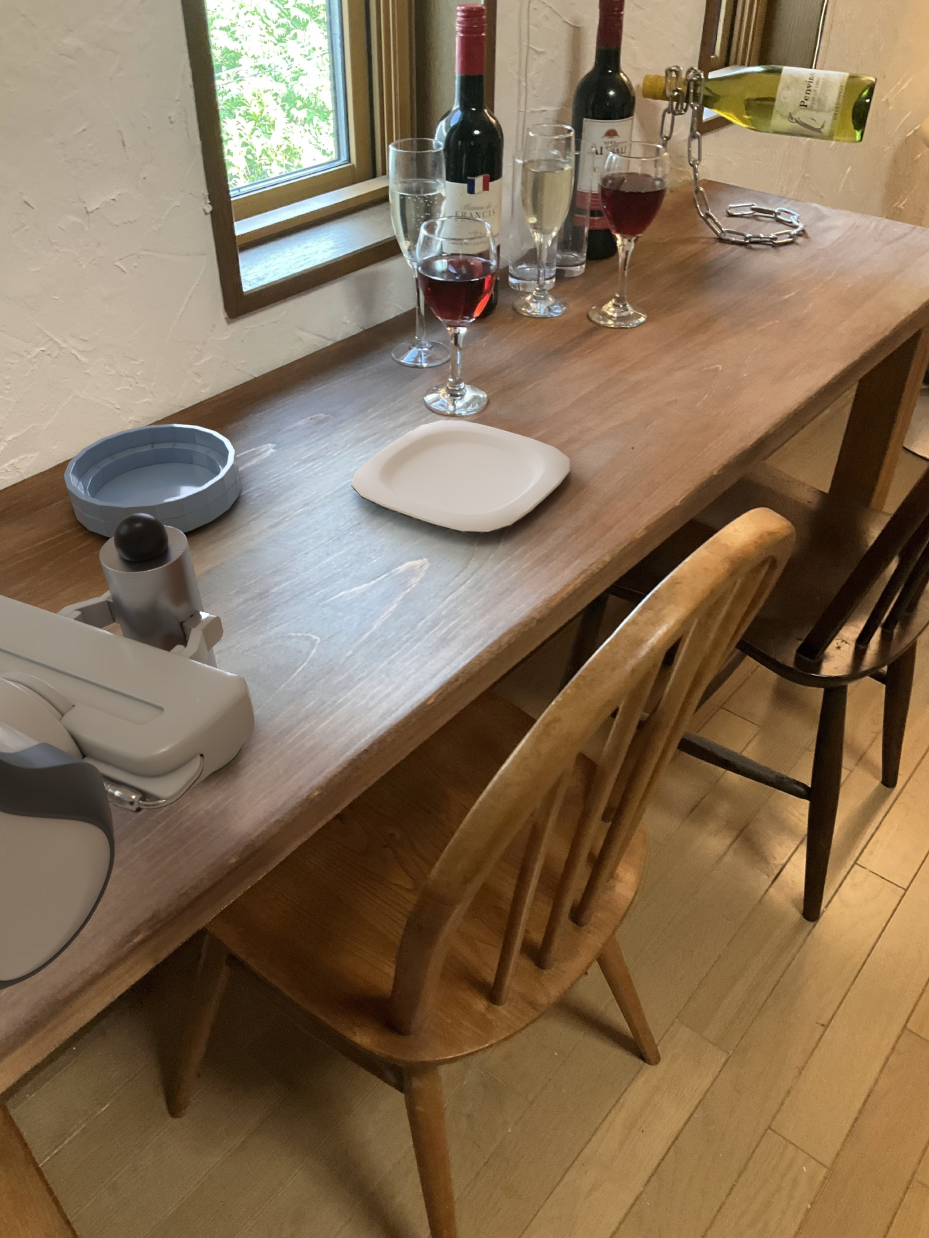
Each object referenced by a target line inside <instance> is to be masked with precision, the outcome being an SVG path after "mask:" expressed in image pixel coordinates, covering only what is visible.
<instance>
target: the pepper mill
mask: <svg viewBox="0 0 929 1238" xmlns="http://www.w3.org/2000/svg"><path fill="white" fill-rule="evenodd" d="M98 557H99V561H100V565H101V568H102V571H103V575H104V578H105V581H106V584H107V588H108V590H109V591H110V595H111V598H112V601H113V604H114V608H115V611H116V614H117V617H118V621H119V624H118V625H119V626H120V631H121V633H122V634H121V635H122V636H124V637H127V638H130V639H133V640H136V641H138V642H141V643H144V644H147V645H150V646H153V647H156V648H159V649H162V650H165V651H168V652H170V651H171V650H172V649H173V648H174V647H176V646H177V645H182V646H184V647H185V648H186V647H187V642H186V634H185V633H184V631H183V627H182V623H183V622H185V621H186V620H187V619H188V618H190V617H192V616H193V614H194V613H195V612H196V611H203V612H205V610H204V606H203V601H202V596H201V593H200V589H199V584H198V580H197V575H196V572H195V567H194V563H193V559H192V554H191V551H190V546H189V542H188V538H187V536H186V535H185V534H184V533H182V532H181V531H180V530H178V529H176V528H173V527H170V526H165V525H163V524H162V523H161V522H160V521H159V520H158V519H157V518H156V517H154V516H152V515H149V514H145V513H136V514H132V515H129V516H127V517H125V518H124V519H123V520H121V521H120V523H119V524H118V525H117V527H116V529H115V532H114V536H113V537H112V538H111V537H109V539H108V540H107V541H105V542H104V544H103V545H102V546H101V548H100V550H99V554H98ZM213 647H214V646H213ZM213 647H212V648H211V649H210V650H209V651H208V658H207V665H210V666H213V667H216V668H218V665H217V661H216V656H215V652H214V648H213Z"/></svg>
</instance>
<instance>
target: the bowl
mask: <svg viewBox="0 0 929 1238" xmlns="http://www.w3.org/2000/svg"><path fill="white" fill-rule="evenodd" d="M63 478H64V482H65V486H66V490H67V492H68V496H69V500H70V502H71V505H72V508H73V512H74V515H75V518H76V519H77V522H79V523H80V524H82V525H83V526H84V527H85V528H86V529H87V530H88V531H90V532H93V533H95V534H99V535H101V536H103V537H107V538H112V537H113V536H114V532H115V529H116V527H117V525H118V524H119V523H120V521H121V520H123V519H124V518H125V517H127V516H129V515H132V514H136V513H145V514H149V515H152V516H154V517H156V518H157V519H158V520H159V521H160V522H161V523H162V524H163V525H165V526H170V527H173V528H176V529H178V530H180V531H181V532H182V533H183V534H184V533H187V532H190V531H193V530H195V529H198V528H200V527H202V526H204V525H207V524H208V523H211V522H213V521H214V520H216V519H217V518H219V517H220V516H221V515H223V514H224V513H226V511H228V510H229V509H230V508H231V507H232V505H233V504H234V502H235V501H236V500H237V499H238V497H239V495H240V491H241V483H242V480H241V475H240V469H239V464H238V459H237V453H236V450H235V448H234V446H233V444H232V443H231V441H230V440H229V438H227V437H225V436H224V435H222V434H221V433H219V432H218V431H216V430H213V429H209V428H205V427H203V426H199V425H194V424H193V425H191V424H179V423H165V424H150V425H144V426H139V427H136V428H135V427H134V428H130V429H125V430H121V431H119V432H116V433H113V434H111V435H108V436H107V435H106V436H104V437H102V438H100V439H98V440H96V441H94V442H92V443H91V444H89V445H87V446H86V447H84V448H82V449H81V450H80V451H79V452H78V453H77V454H76V455H75V456H74V457H73V458H72V459H70V460H69V462H68V464H67V467H66V469H65V472H64V474H63Z"/></svg>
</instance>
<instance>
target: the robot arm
mask: <svg viewBox="0 0 929 1238" xmlns="http://www.w3.org/2000/svg"><path fill="white" fill-rule="evenodd" d="M114 623H115V624H118V625H120V624H119V621H118V617H117V614H116V611H115V608H114V604H113V601H112V598H111V595H110V591H109V589H108V590H107V591H105V592H104V593H103V594H102V595H100V596H96V597H93V598H89V599H86V600H83V601H79V602H76V603H73V604H69V605H66V606H64V607H63V608H61V609H60V610H59V611H57V612H52V611H49V610H46V609H44V608H40V607H37V606H34V605H32V604H28V603H25V602H24V601H19V600H17V599H14V598H10V597H8V596H5V595H2V594H0V991H2V990H5V989H8V988H11V987H13V986H15V985H17V984H20V983H22V982H24V981H26V980H28V979H30V978H32V977H33V976H35V975H38V973H40V972H41V971H43V970H44V969H46V968H47V967H49V965H51V964H52V963H53V962H54V961H55V960H57V958H59V957H60V956H61V955H62V954H63V953H64V952H65V951H66V950H67V949H68V948H69V946H70V945H71V944H72V943H74V941H75V939H76V938H77V937H78V936H79V935H80V934H81V932H82V931H83V930H84V928H85V927H86V926H87V924H88V923H89V922H90V919H92V916H93V915H94V913H95V911H96V910H97V908H98V906H99V904H100V902H102V899H103V897H104V894H105V893H106V890H107V888H108V884H109V882H110V879H111V875H112V873H113V868H114V863H115V855H116V849H115V848H116V847H115V844H116V843H115V829H114V822H113V820H114V819H113V814H112V808H111V805H110V803H111V804H112V805H113V806H114V807H115V808H117V809H120V810H122V811H124V812H128V813H134V814H137V813H140V812H142V810H156V809H157V810H158V809H162V808H164V807H165V808H170V807H173V806H174V805H177V804H178V803H179V802H180V801H182V800H183V799H184V798H185V796H187V794H188V793H189V792H190V791H191V790H192V789H193V788H194V787H195V786H197V785H198V784H200V783H201V782H202V781H203V780H205V779H206V778H207V777H208V776H210V775H211V774H212V773H214V772H215V771H214V770H216V769H217V768H218V767H219V766H220V765H221V764H223V763H224V762H225V761H226V760H227V759H228V758H229V757H230V756H231V755H233V754H234V753H235V752H236V751H237V750H238V749H239V748H240V747H241V748H242V746H243V745H244V744H245V743H246V742H247V741H248V740H249V739H250V738H251V736H252V735H253V733H254V731H255V726H256V718H255V710H254V709H255V708H254V704H253V700H252V696H251V692H250V689H249V685H248V683H247V680H246V679H245V678H244V677H243V676H241V675H239V674H236V673H233V672H230V671H227V670H224V669H222V668H219V667H217V668H216V667H213V666H210V665H207V658H208V651H209V650H210V649H211V648H212V647H215V646H216V645H217V644H218V643H219V642H220V641H221V640H222V638H223V635H224V628H223V622H222V619H221V617H220V616H219V615H217V614H212V613H209V612H205V611H204V612H203V611H196V612H195V613H194V614H193V616H192V617H190V618H188V619H187V620H186V621H185V622H183V623H182V627H183V631H184V633H185V634H186V642H187V647H186V648H185V647H184V646H182V645H177V646H176V647H174V648H173V649H172V650H171V651H170V652H168V651H165V650H162V649H159V648H156V647H153V646H150V645H147V644H144V643H141V642H138V641H136V640H133V639H130V638H127V637H124V636H123V635H122V634H117V633H114V632H111V631H109V630H105V629H104V628H106V627H107V626H110V625H112V624H114ZM241 748H240V749H241ZM213 771H214V772H213ZM216 771H217V770H216Z"/></svg>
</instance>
